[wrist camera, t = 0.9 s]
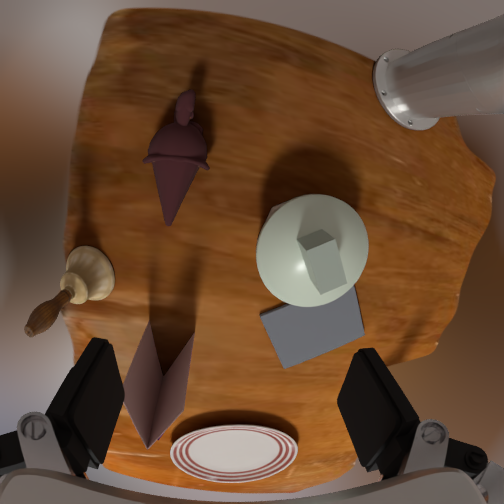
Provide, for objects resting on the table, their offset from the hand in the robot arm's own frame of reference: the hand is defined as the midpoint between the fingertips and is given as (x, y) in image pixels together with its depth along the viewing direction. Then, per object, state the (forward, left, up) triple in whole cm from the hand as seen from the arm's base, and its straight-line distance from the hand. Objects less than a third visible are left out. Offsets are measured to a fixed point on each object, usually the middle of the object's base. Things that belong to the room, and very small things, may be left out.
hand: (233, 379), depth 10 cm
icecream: (+2, -10, -27) cm, 28 cm away
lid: (-8, +6, -21) cm, 23 cm away
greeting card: (+17, +14, -27) cm, 34 cm away
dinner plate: (+19, +46, -27) cm, 56 cm away
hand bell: (+21, -1, -27) cm, 34 cm away
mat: (-6, +19, -26) cm, 33 cm away
